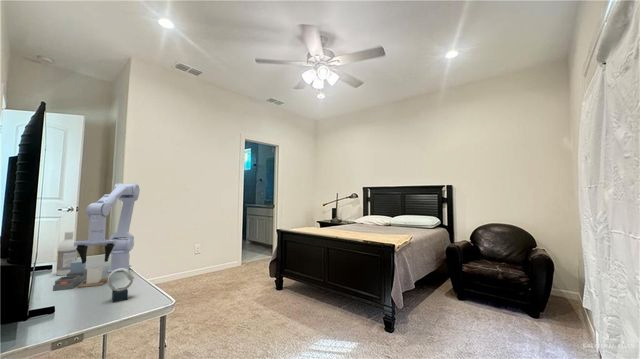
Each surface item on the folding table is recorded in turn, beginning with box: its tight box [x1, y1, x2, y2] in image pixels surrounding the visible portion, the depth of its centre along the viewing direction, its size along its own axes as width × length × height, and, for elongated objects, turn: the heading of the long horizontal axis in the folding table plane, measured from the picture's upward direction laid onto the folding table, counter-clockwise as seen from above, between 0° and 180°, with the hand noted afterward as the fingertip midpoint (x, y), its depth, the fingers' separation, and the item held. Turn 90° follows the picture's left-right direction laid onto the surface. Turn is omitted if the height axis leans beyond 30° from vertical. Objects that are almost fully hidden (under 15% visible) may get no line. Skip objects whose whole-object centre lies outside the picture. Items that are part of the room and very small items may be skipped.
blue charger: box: [70, 259, 87, 273], centre depth 119 cm, size 4×4×6 cm
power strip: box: [52, 268, 88, 292], centre depth 117 cm, size 24×6×4 cm, turn 24°
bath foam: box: [55, 230, 79, 277], centre depth 127 cm, size 7×7×20 cm
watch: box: [106, 268, 135, 304], centre depth 99 cm, size 6×8×11 cm
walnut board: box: [77, 277, 108, 289], centre depth 114 cm, size 9×8×1 cm
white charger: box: [85, 265, 103, 284], centre depth 114 cm, size 4×4×6 cm
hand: (95, 262), depth 115 cm, fingers open, 7 cm apart
